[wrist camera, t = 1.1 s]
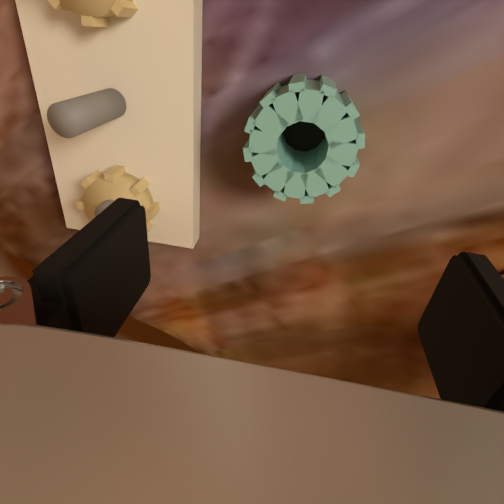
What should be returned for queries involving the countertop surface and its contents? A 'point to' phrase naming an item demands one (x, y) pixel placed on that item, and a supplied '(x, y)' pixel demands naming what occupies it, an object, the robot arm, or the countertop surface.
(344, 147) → the loose gear
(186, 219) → the gear board
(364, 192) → the countertop surface
